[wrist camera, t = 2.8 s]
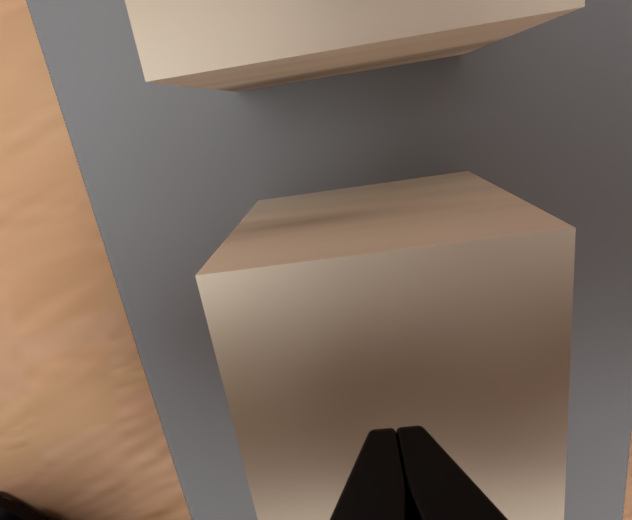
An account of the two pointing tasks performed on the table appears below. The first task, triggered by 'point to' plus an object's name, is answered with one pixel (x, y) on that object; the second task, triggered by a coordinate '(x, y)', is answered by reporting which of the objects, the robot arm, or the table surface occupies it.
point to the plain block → (396, 338)
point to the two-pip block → (315, 36)
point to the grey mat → (344, 172)
